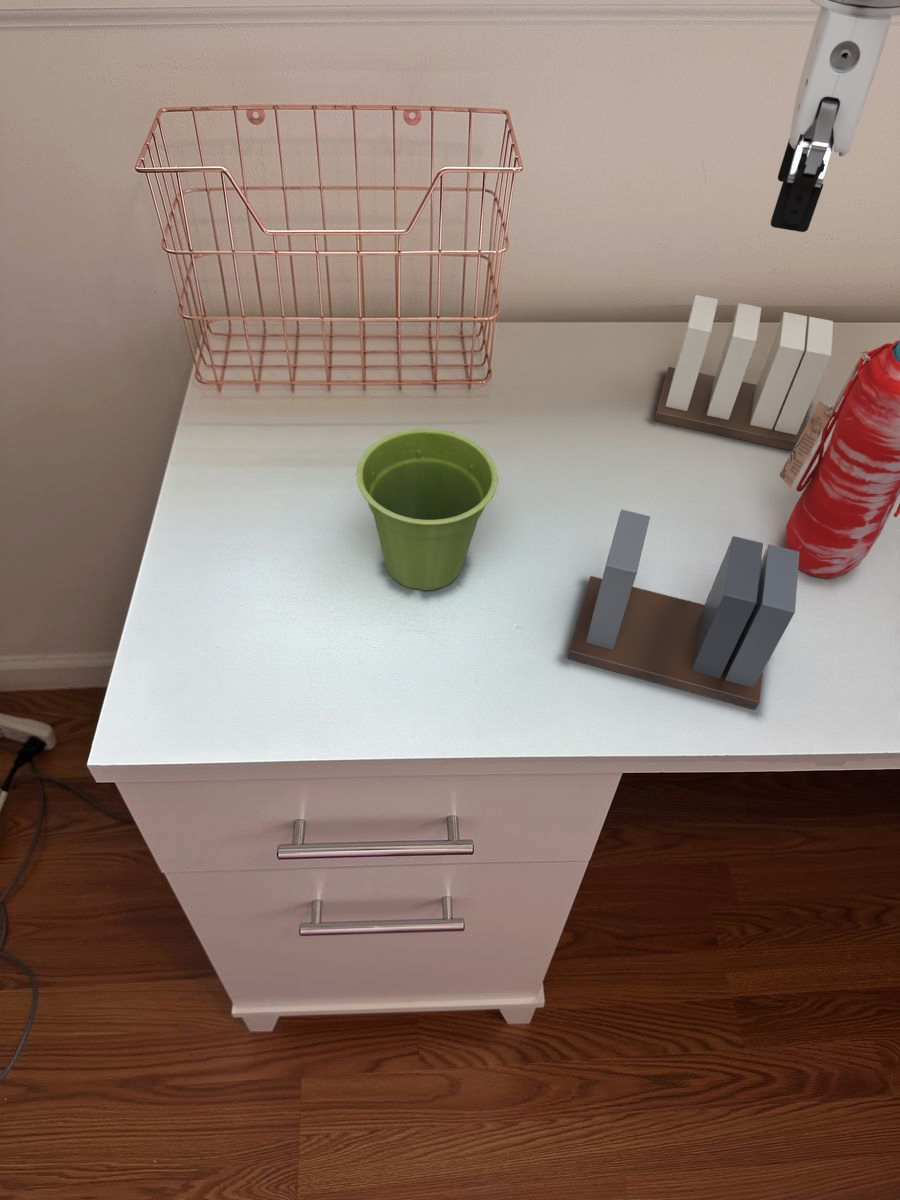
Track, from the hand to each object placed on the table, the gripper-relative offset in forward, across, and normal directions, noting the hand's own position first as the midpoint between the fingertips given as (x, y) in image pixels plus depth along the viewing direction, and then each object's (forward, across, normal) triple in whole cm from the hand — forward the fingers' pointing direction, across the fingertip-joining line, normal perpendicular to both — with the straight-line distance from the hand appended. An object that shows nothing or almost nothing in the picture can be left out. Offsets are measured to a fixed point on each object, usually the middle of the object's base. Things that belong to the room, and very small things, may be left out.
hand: (791, 204), depth 78 cm
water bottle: (+24, -18, -10) cm, 32 cm away
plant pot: (+24, -32, +24) cm, 47 cm away
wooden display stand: (+24, +1, -1) cm, 24 cm away
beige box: (+22, +1, +1) cm, 22 cm away
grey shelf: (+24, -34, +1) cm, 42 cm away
